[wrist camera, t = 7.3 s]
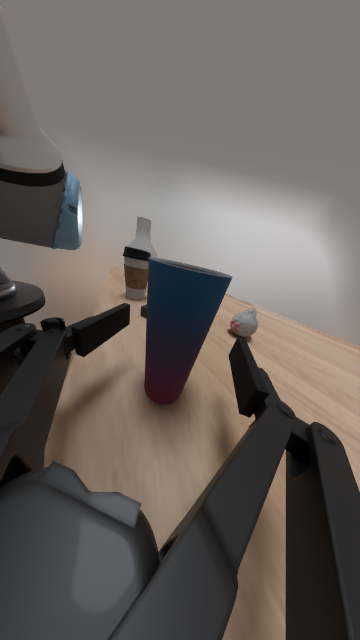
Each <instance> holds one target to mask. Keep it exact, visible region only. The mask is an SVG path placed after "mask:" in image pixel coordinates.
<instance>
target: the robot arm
mask: <svg viewBox="0 0 360 640" xmlns="http://www.w3.org/2000/svg"><path fill="white" fill-rule="evenodd" d="M0 238H3V239H8V240H13V241H18V242H24V243H29V244H34V245H39V246H45V247H50V248H53V249H57V248H59V249H67V250H76V249H78V248H79V247H80V245H81V241H82V195H81V187H80V182H79V179H78V178H77V177H76V176H74V175H73V174H72V173H71V172H69V171H68V172H65V170H64V166H63V162H62V158H61V155H60V152H59V150H58V148H57V146H56V145H55V144H54V143H53V142H52V140H51V139H50V138H49V137H48V136H47V135H46V134H45V133H44V132H43V130H42V129H41V128H40V127H39V125H38V124H37V120H36V117H35V114H34V111H33V108H32V104H31V101H30V98H29V95H28V92H27V88H26V85H25V82H24V79H23V75H22V72H21V69H20V66H19V63H18V59H17V56H16V53H15V50H14V47H13V44H12V40H11V37H10V34H9V31H8V27H7V24H6V21H5V18H4V14H3V11H2V8H1V5H0ZM16 293H17V291H16V288H15V285H14V283H13V282H12V280H10V278H9V277H8V276H7V275H6V274H5V273H4V271H3V270H2V269H1V268H0V301H3V300H6V299H8V298H10V297H12V296H14V295H15V294H16ZM129 321H130V305H129V304H126V303H123V304H121V305H119V306H117V307H114V308H112V309H110V310H108V311H105V312H103V313H101V314H99V315H96V316H93V317H89V318H86V319H84V320H82V321H80V322H77V323H75V324H72V325H70V326H68V327H66V326H65V322H64V320H63V319H62V318H48V319H44V320H42V321H41V322H40V323H41V326H42V329H43V330H37V329H36V326H35V325H34V324H30V323H27V324H26V323H23V324H18V325H15V326H12V327H10V328H8V329H7V330H5V331H3V332H1V333H0V640H222V638H223V635H224V632H225V629H226V626H227V624H228V621H229V618H230V615H231V612H232V609H233V606H234V603H235V599H236V595H237V589H238V580H237V574H238V569H239V566H240V563H241V560H242V558H243V555H244V553H245V550H246V548H247V545H248V542H249V540H250V537H251V535H252V532H253V530H254V527H255V524H256V522H257V519H258V517H259V514H260V512H261V509H262V506H263V504H264V501H265V499H266V496H267V494H268V491H269V488H270V486H271V483H272V481H273V478H274V476H275V473H276V470H277V468H278V465H279V463H280V460H281V458H282V455H283V452H284V450H285V449H286V640H360V492H359V489H358V486H357V483H356V481H355V478H354V475H353V472H352V469H351V466H350V463H349V460H348V458H347V455H346V452H345V449H344V446H343V444H342V443H341V441H340V440H339V438H338V437H337V436H336V435H335V434H334V433H333V432H332V431H331V430H330V429H328V428H327V427H326V426H324V425H322V424H320V423H318V422H313V423H312V424H310V425H309V424H307V423H305V422H304V421H302V420H300V419H299V418H297V417H296V416H295V414H294V412H293V411H292V410H291V408H290V407H289V406H288V405H286V404H285V403H284V402H282V401H281V400H280V398H279V396H278V394H277V392H276V391H275V389H274V387H273V385H272V383H271V381H270V379H269V377H268V375H267V373H266V372H265V371H264V370H263V369H262V368H258V367H257V364H256V362H255V360H254V358H253V355H252V353H251V351H250V349H249V346H248V344H247V342H246V340H245V338H241V337H238V338H237V340H236V342H235V344H234V346H233V348H232V350H231V352H230V354H229V360H230V365H231V371H232V376H233V382H234V387H235V392H236V398H237V403H238V409H239V414H242V415H244V416H247V417H251V416H252V415H253V413H254V415H255V418H256V419H255V420H254V422H253V423H252V424H251V425H250V426H249V429H248V430H247V431H246V433H245V434H244V436H243V437H242V438H241V440H240V441H239V442H238V444H237V445H236V447H235V448H234V449H233V451H232V452H231V454H230V455H229V456H228V458H227V459H226V461H225V462H224V463H223V465H222V466H221V467H220V469H219V470H218V472H217V473H216V474H215V476H214V477H213V479H212V480H211V481H210V483H209V484H208V486H207V487H206V488H205V490H204V491H203V492H202V494H201V495H200V497H199V498H198V499H197V501H196V502H195V504H194V505H193V506H192V508H191V509H190V511H189V512H188V513H187V515H186V516H185V517H184V519H183V520H182V521H181V522H180V524H179V525H178V526H177V527H176V529H175V530H174V531H173V533H172V534H171V535H170V537H169V538H168V540H167V541H166V542H165V544H164V545H163V546H162V548H161V549H160V551H159V552H158V549H157V544H156V540H155V537H154V534H153V531H152V528H151V526H150V524H149V522H148V520H147V518H146V517H145V515H144V514H143V512H142V511H141V510H140V507H141V503H139V502H137V501H135V500H133V499H131V498H129V497H127V496H125V495H123V494H121V493H119V492H90V491H89V490H88V489H87V488H86V486H85V485H84V484H83V482H82V481H81V480H80V478H79V477H78V475H77V474H76V473H75V471H74V470H72V469H70V468H68V467H66V466H64V465H62V464H60V463H58V462H56V461H53V462H52V464H51V465H50V466H49V467H46V468H43V465H44V449H45V444H46V441H47V438H48V434H49V431H50V427H51V424H52V420H53V417H54V414H55V410H56V407H57V403H58V400H59V396H60V393H61V390H62V386H63V383H64V379H65V376H66V373H67V369H68V366H69V362H70V359H71V355H72V353H71V351H72V350H74V349H75V350H76V354H77V355H80V356H82V357H85V356H86V355H88V354H89V353H90V352H92V351H93V350H95V349H96V348H97V347H99V346H100V345H101V344H103V343H104V342H105V341H107V340H108V339H110V338H111V337H112V336H114V335H115V334H116V333H118V332H119V331H121V330H122V329H123V328H125V327H126V326H127V325H129ZM16 348H17V351H18V352H17V353H16V354H15V355H14V351H15V349H16ZM138 513H139V514H138ZM136 520H137V521H136Z"/></svg>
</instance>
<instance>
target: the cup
mask: <svg viewBox="0 0 360 640" xmlns="http://www.w3.org/2000/svg"><path fill="white" fill-rule="evenodd" d="M231 279H232V277H231V276H230V275H227V274H224V273H221V272H217V271H213V270H209V269H206V268H201V267H197V266H193V265H189V264H185V263H181V262H175V261H171V260H165V259H160V258H153V257H149V261H148V294H147V326H146V359H145V391H146V394H147V395H148V397H149V398H150V399H151V400H153V401H154V402H156V403H160V404H168V403H172V402H173V401H175V400H176V399H177V398H178V397H179V396H180V394H181V392H182V390H183V387H184V385H185V383H186V381H187V378H188V376H189V374H190V372H191V369H192V367H193V365H194V363H195V360H196V358H197V356H198V354H199V351H200V349H201V347H202V345H203V342H204V340H205V338H206V336H207V333H208V331H209V329H210V327H211V324H212V322H213V320H214V318H215V315H216V313H217V311H218V309H219V306H220V304H221V302H222V300H223V297H224V295H225V292H226V290H227V288H228V286H229V284H230V281H231Z"/></svg>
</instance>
